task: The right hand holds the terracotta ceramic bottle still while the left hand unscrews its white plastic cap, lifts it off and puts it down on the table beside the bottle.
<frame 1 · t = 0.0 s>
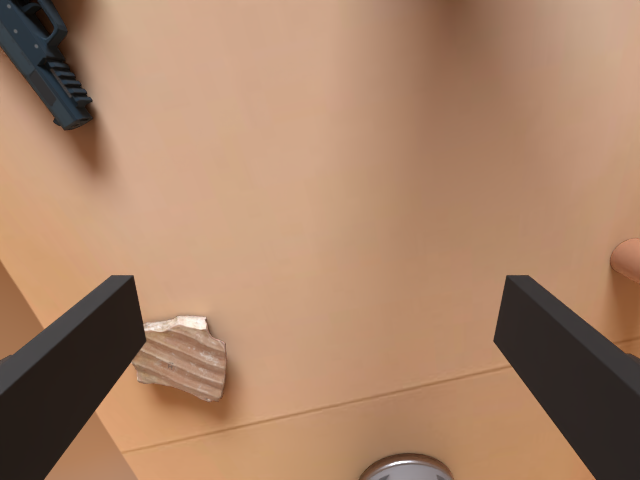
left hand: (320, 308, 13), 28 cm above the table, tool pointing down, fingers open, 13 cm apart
bottle: (629, 256, 42), on the table
stone: (186, 356, 47), on the table
handgun: (60, 17, 34), on the table
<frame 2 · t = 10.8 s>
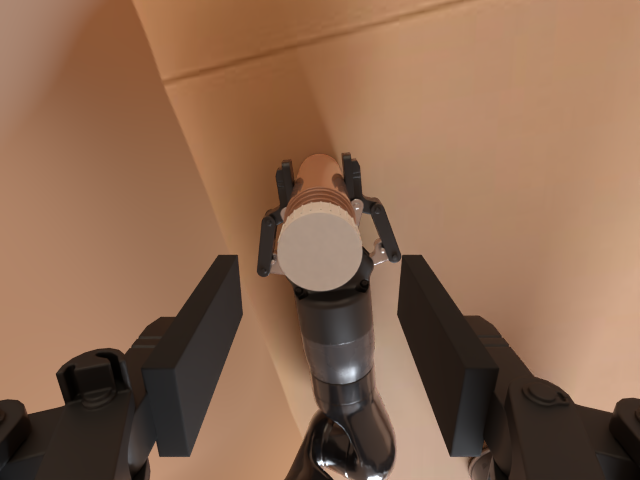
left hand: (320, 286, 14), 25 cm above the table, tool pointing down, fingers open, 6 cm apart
right hand: (315, 158, 31), fingers closed on bottle, 4 cm apart
bottle: (319, 175, 38), on the table, touching right hand
cap: (319, 251, 18), point 21 cm above the table, screwed on, not yet turned
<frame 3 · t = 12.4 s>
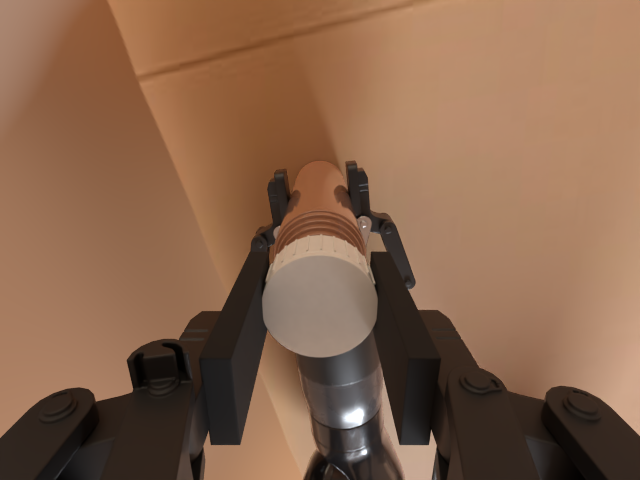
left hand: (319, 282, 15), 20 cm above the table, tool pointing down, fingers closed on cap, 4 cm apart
right hand: (315, 167, 26), fingers closed on bottle, 4 cm apart
bottle: (319, 185, 33), on the table, touching right hand
cap: (319, 305, 13), point 21 cm above the table, screwed on, not yet turned, touching left hand
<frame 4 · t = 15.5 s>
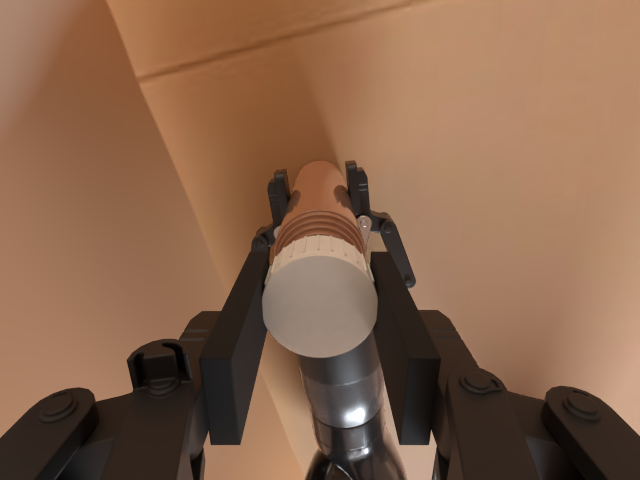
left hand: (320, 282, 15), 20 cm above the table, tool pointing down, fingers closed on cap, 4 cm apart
right hand: (314, 167, 26), fingers closed on bottle, 4 cm apart
bottle: (319, 185, 33), on the table, touching right hand
cap: (319, 305, 13), point 22 cm above the table, turned 96° so far, risen 0.1 cm, still on its thread, touching left hand
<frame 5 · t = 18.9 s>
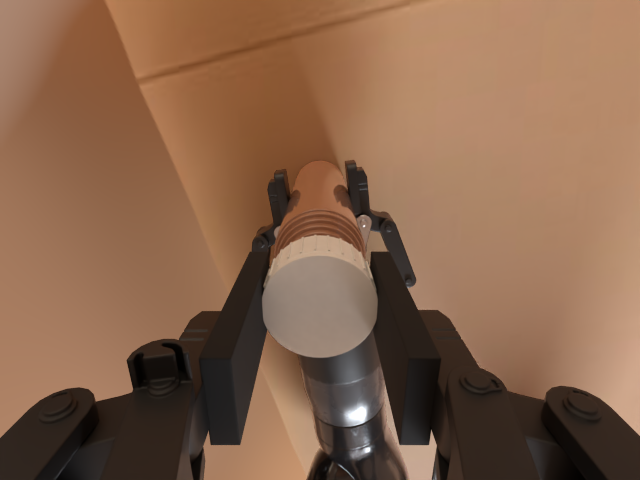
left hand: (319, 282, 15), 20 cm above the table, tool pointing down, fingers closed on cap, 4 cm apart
right hand: (314, 167, 26), fingers closed on bottle, 4 cm apart
bottle: (319, 185, 33), on the table, touching right hand
cap: (319, 305, 13), point 22 cm above the table, turned 192° so far, risen 0.2 cm, still on its thread, touching left hand
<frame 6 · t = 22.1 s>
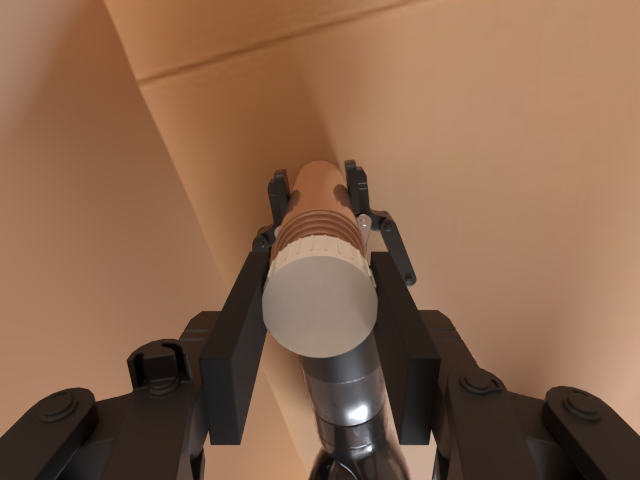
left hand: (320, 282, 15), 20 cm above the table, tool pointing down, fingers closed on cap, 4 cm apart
right hand: (314, 167, 26), fingers closed on bottle, 4 cm apart
bottle: (319, 184, 33), on the table, touching right hand
cap: (319, 305, 13), point 22 cm above the table, turned 288° so far, risen 0.3 cm, still on its thread, touching left hand
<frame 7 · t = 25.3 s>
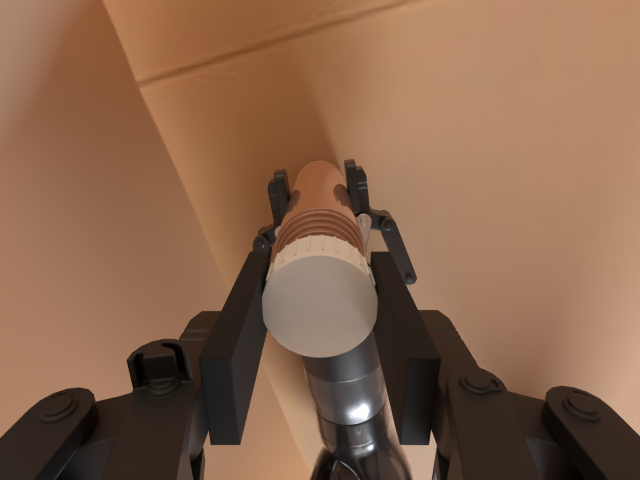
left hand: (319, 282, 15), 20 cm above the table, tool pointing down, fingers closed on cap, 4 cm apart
right hand: (314, 167, 26), fingers closed on bottle, 4 cm apart
bottle: (319, 184, 34), on the table, touching right hand
cap: (319, 305, 13), point 22 cm above the table, turned 384° so far, risen 0.4 cm, still on its thread, touching left hand
when the left hand's fingers open (2 cm above the table, at t = 31.8 s): cap drops 2 cm, point 2 cm above the table.
when the right hand's fingers open (7 cm above the table, at t = 33.1 s): bottle stays where it is, on the table.
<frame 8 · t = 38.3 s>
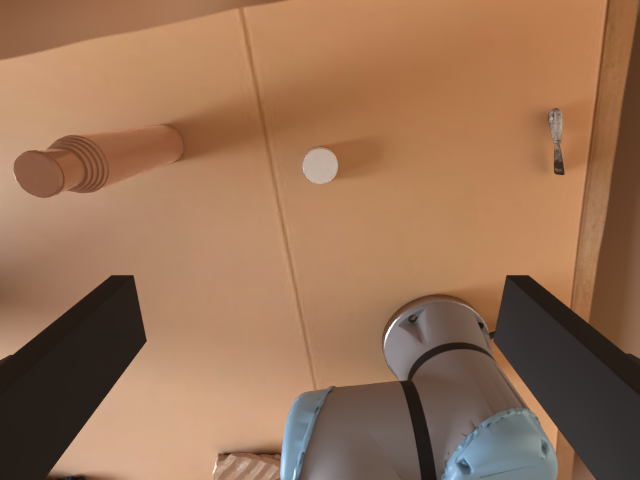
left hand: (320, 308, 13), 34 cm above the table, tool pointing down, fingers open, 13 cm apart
bottle: (165, 144, 44), on the table
stone: (253, 469, 63), on the table
cap: (320, 166, 43), point 2 cm above the table, off its thread
putty knife: (552, 141, 44), on the table
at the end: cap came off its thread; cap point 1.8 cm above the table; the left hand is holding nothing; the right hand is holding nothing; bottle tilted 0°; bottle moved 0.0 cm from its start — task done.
